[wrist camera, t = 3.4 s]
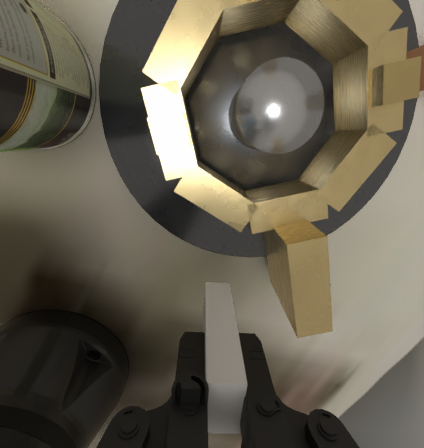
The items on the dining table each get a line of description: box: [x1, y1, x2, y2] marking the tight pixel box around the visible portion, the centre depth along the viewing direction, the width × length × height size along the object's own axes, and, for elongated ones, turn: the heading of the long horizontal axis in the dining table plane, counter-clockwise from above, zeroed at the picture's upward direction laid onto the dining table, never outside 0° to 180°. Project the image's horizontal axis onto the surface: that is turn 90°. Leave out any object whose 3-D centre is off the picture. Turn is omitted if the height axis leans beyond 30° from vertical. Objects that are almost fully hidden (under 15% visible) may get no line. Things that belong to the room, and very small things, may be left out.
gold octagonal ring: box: [141, 0, 422, 338], centre depth 16 cm, size 22×15×7 cm
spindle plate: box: [99, 0, 419, 257], centre depth 17 cm, size 24×24×7 cm
